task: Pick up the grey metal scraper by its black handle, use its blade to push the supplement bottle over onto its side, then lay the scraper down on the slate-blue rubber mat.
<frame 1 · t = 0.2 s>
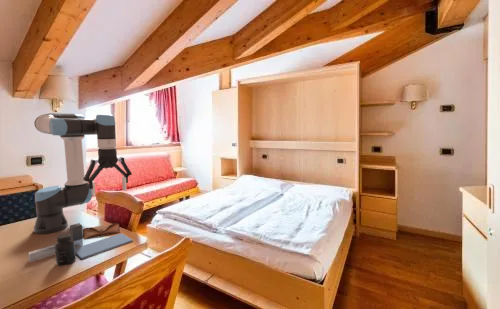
hand: (109, 192, 122), 27 cm above the table, tool pointing down, fingers open, 13 cm apart
sunglasses case: (102, 234, 140), on the table
scraper: (72, 248, 124), on the table
supplement bottle: (66, 262, 112), on the table
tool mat: (103, 245, 126), on the table
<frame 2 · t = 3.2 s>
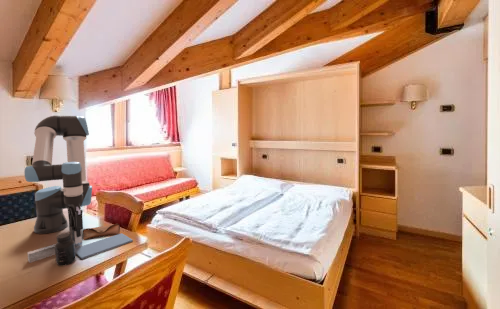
hand: (77, 241, 125), 3 cm above the table, tool pointing down, fingers closed on scraper, 4 cm apart
sunglasses case: (102, 235, 139), on the table
scraper: (71, 248, 123), on the table, touching gripper
everything else where it was.
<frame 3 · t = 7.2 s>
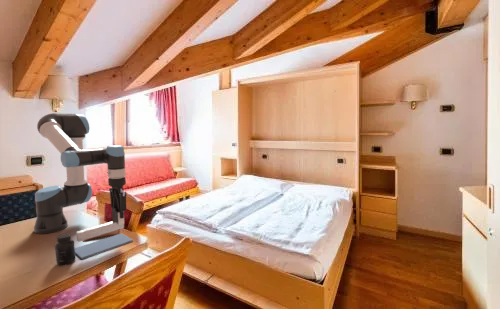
hand: (119, 222, 128), 10 cm above the table, tool pointing down, fingers closed on scraper, 4 cm apart
sunglasses case: (101, 236, 138), on the table
scraper: (114, 229, 127), point 8 cm above the table, touching gripper
everything else where it was.
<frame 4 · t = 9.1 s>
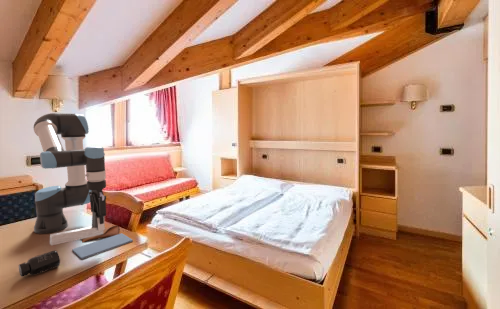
hand: (99, 228, 121), 11 cm above the table, tool pointing down, fingers closed on scraper, 4 cm apart
scraper: (92, 235, 119), point 8 cm above the table, tilted 6°, touching gripper
supplement bottle: (57, 257, 108), point 3 cm above the table
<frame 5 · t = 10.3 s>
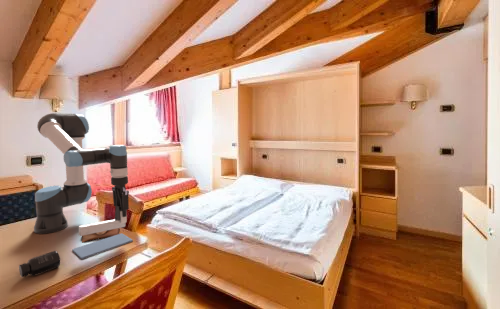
hand: (121, 221, 130), 11 cm above the table, tool pointing down, fingers closed on scraper, 4 cm apart
scraper: (116, 227, 128), point 8 cm above the table, tilted 6°, touching gripper
when the fingers open (5 cm above the table, at t = 11.5 s): scraper drops 2 cm, resting on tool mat.
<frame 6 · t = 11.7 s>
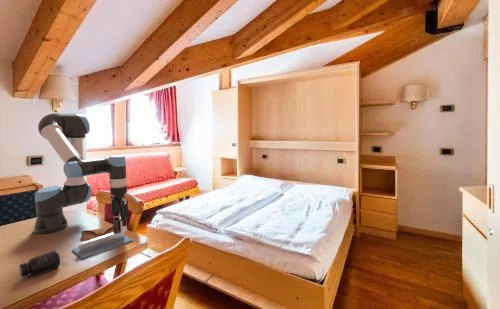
hand: (120, 229, 132), 5 cm above the table, tool pointing down, fingers open, 6 cm apart
scraper: (115, 240, 130), point 1 cm above the table, touching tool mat
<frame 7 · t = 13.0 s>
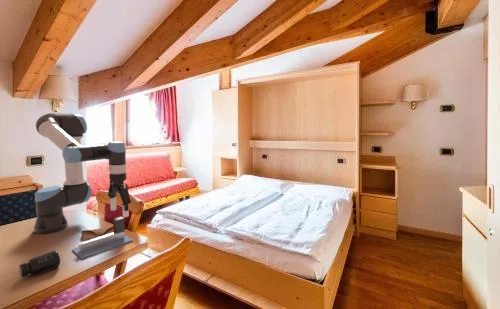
hand: (119, 213, 131), 14 cm above the table, tool pointing down, fingers open, 13 cm apart
nothing on the table moved.
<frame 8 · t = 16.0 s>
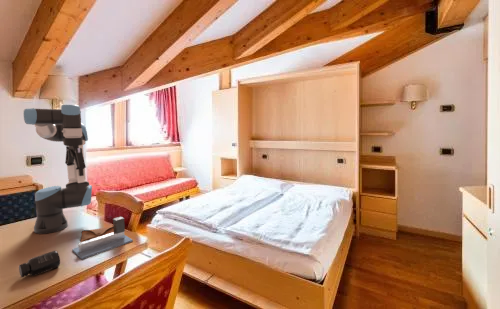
hand: (76, 180, 127), 32 cm above the table, tool pointing down, fingers open, 13 cm apart
at the end: supplement bottle tilted 89°; scraper touching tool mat; the gripper is holding nothing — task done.
